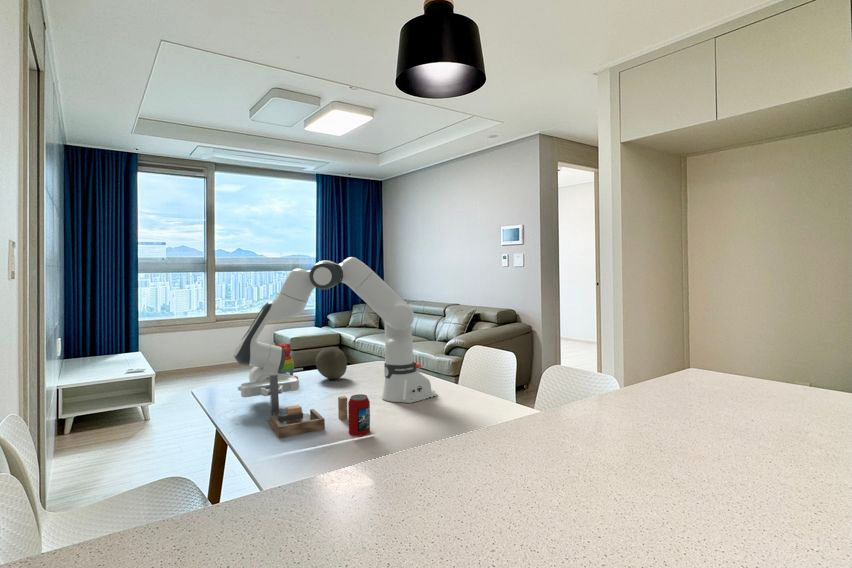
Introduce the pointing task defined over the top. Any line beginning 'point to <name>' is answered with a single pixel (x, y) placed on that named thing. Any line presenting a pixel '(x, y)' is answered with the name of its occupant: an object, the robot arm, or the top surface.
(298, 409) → the block
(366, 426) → the beverage can
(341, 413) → the plain rod
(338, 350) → the cantaloupe
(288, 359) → the stacking bear
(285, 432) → the wooden tray
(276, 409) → the hook tool
